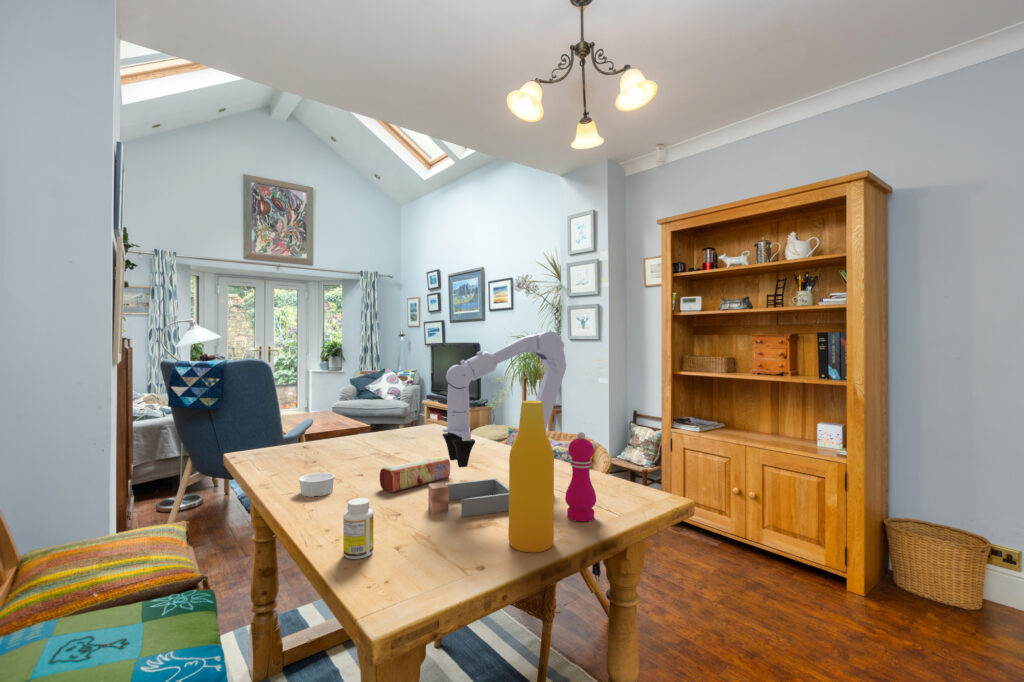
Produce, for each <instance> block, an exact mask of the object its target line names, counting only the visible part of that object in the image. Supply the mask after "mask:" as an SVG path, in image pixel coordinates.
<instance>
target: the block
mask: <svg viewBox="0 0 1024 682" xmlns="http://www.w3.org/2000/svg"><path fill="white" fill-rule="evenodd" d="M447 484H448V483H446V482H435V483H428V497H427V498H428V499H427V500H428V510H429V511H430V513H431V514H432V513H434V514H441V512H442V513H447V512H448V511H449V510H450V509H449V506H450V505H449V502H450V500H449V487H448V486H447ZM448 513H449V512H448Z"/></svg>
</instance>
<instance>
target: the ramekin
mask: <svg viewBox="0 0 1024 682" xmlns="http://www.w3.org/2000/svg"><path fill="white" fill-rule="evenodd" d="M335 476H336V475H335V474H333V473H331V472H315V473H314V472H313V473H309V474H305V475H302V476H300V477H299V479H298V480H299V484H300V494H301V495H302V496H303V497H306V496H308V497H307V498H313V497H314V496H318V497H323V496H322V495H324V496H326V494H327V495H329V494H331V493H332V492H333V490H334V480H335ZM314 498H315V497H314Z"/></svg>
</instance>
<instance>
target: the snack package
mask: <svg viewBox="0 0 1024 682" xmlns="http://www.w3.org/2000/svg"><path fill="white" fill-rule="evenodd" d="M450 461H451V460H450V459H448V458H447V457H444V456H435V457H431V458H425V459H418V460H415V461H411V462H407V463H401V464H395V465H390V466H389V465H388V466H385V467H382V468H381V470H380V472H379V485H380V488H381V489H382V490H383V491H385V492H386V491H387V492H386V493H390V492H391V493H390V494H392V493H395V492H399V491H402V490H407V489H410V488H414V487H418V486H421V485H425V484H427V483H428V484H430V483H432V482H436V481H441V480H445V478H446V479H448V478H450V476H451V462H450Z"/></svg>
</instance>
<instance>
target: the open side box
mask: <svg viewBox="0 0 1024 682" xmlns="http://www.w3.org/2000/svg"><path fill="white" fill-rule="evenodd" d="M446 484H447V486H448V487H449V501H451V500H452V501H453V500H460V499H461V507H460V508H461V511H460V513H461V515H460V516H461V517H462V518H465V517H473V515H474V516H480V515H481V516H482V515H487V514H495V513H501V512H509V486H507V485H505V483H503V482H502V481H500V480H499V479H498V478H497V477H496V478H487V479H479V480H469V481H460V482H453V483H452V482H451V483H446ZM492 494H493V495H492Z"/></svg>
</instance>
